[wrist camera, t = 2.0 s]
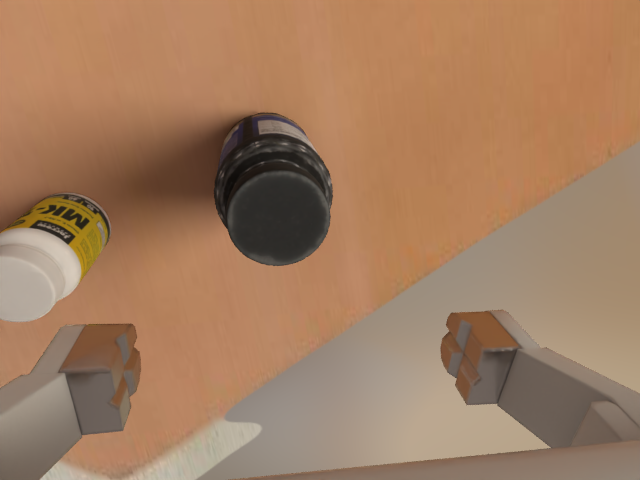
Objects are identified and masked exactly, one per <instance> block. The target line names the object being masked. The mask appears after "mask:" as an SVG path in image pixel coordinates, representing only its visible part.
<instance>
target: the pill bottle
mask: <svg viewBox="0 0 640 480" xmlns="http://www.w3.org/2000/svg"><path fill="white" fill-rule="evenodd" d="M332 192H333V191H332V183H331V178H330V174H329V171H328V169H327V168H326V166H325V164H324V162H323V161H322V159H321V158H320V156H319V155H318V153H317V152H316V150H315V148H314V147H313V145H312V144H311V142H310V141H309V139H308V138H307V136H306V134H305V133H304V131H303V130H302V129H301V128H300V127H299V126H298V125H297V124H296V123H295V122H294V121H292V120H290V119H288V118H286V117H284V116H282V115H279V114H276V113H259V114H256V115H252V116H249V117H247V118H244V119H243V120H241V121H239V122H238V123H237V124H236V125H235V126H234V127H233V128H232V129H231V131H230V132H229V133H228V134H227V137H226V139H225V141H224V144H223V148H222V152H221V156H220V161H219V166H218V171H217V175H216V179H215V188H214V198H215V205H216V209H217V211H218V215H219V216H220V218H221V220H222V222H223V224H224V225H225V227H226V228H227V229H228V232H229V235H230V238H231V240H232V242H233V243H234V245H235V246H236V247H237V248H238V250H239V251H240V252H242V253H243V254H244V255H245V256H246V257H248V258H250V259H252V260H254V261H256V262H259V263H261V264H266V265H273V266H284V265H288V264H293V263H296V262H299V261H301V260H303V259H305V258H306V257H308V256H309V255H311V254H312V253H313V252H314V251H315V250H316V249H317V248H318V247H319V246H320V245H321V243H322V242H323V240H324V238H325V237H326V235H327V232H328V228H329V226H330V217H331V216H330V208H331V204H332V197H333V195H332Z"/></svg>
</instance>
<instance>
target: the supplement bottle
mask: <svg viewBox="0 0 640 480" xmlns="http://www.w3.org/2000/svg"><path fill="white" fill-rule="evenodd" d="M110 235H111V224H110V220H109V218H108V216H107V214H106V212H105V211H104V209H103V208H102V207H101V206H100V205H99V204H98V203H96V202H95V201H93V200H92V199H90V198H88V197H86V196H84V195H81V194H76V193H57V194H53V195H51V196H48V197H46V198H45V199H43V200H42V201H41V202H39V203H38V204H37V205H35V206H34V207H33V208H31V209H30V210H29V211H28V212H26V213H25V214H24V215H22V216H21V217H20V218H19V219H17V220H16V221H15V222H13V223H12V224H11V225H10V226H8V227H7V228H6V229H4V230H3V231H2V232H0V319H1V320H5V321H10V322H28V321H32V320H36V319H38V318H40V317H42V316H44V315H45V314H47V313H48V312H49V311H50V310H51V309H52V307H53V306H54V305H55V303H56V302H57V301H58V300H60V299H62V298H64V297H66V296H67V295H69V294H70V293H71V292H72V291H74V290H75V288H76V287H77V286H78V284H79V283H80V281H81V280H82V279H83V277H84V276H85V274H86V273H87V272H88V270H89V269H90V267H91V266H92V264H93V263H94V262H95V260H96V259H97V257H98V256H99V254H100V253H101V252H102V250H103V249H104V247H105V246H106V244H107V243H108V241H109V238H110Z"/></svg>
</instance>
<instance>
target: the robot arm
mask: <svg viewBox="0 0 640 480" xmlns="http://www.w3.org/2000/svg"><path fill="white" fill-rule="evenodd" d="M446 326H447V328H448V329H449V332H448V333H447V334H446V335H445V336H444V337H443V339H442V344H441V359H442V362H443V365H444V367H445V369H446V370H447V372H448V373H449V374H451V375H452V376H454V377H455V378H457V380H456V384H455V386H456V388H457V389H458V391H459V393H460V394H461V396H462V397H463V399H464V401H465V403H466V404H467V405H479V404H498V406H499V407H500V408H501V409H503V410H504V411H505V412H506V413H508V414H509V415H510V416H512V417H513V418H514V419H515V420H517V421H518V422H519V423H520V424H522V425H523V426H524V427H526V428H527V429H528V430H529V431H531V432H532V433H533V434H534V435H536V436H537V437H538V438H539V439H541V440H542V441H543V442H545V443H546V444H547V445H548V446H550V447H551V448H549V449H538V450H529V451H518V452H507V453H497V454H487V455H476V456H466V457H456V458H445V459H435V460H425V461H414V462H404V463H393V464H383V465H373V466H364V467H353V468H343V469H333V470H322V471H312V472H301V473H291V474H281V475H271V476H261V477H251V478H240V479H230V480H640V393H638V392H636V391H633V390H631V389H629V388H627V387H625V386H623V385H621V384H619V383H617V382H615V381H613V380H611V379H609V378H607V377H605V376H603V375H601V374H599V373H597V372H595V371H593V370H591V369H589V368H587V367H585V366H583V365H581V364H579V363H577V362H575V361H573V360H571V359H569V358H566V357H564V356H562V355H560V354H558V353H556V352H554V351H552V350H550V349H548V348H541V347H540V346H539V345H538V344H537V343H536V342H535V341H534V340H533V339H532V338H531V337H530V335H529V334H528V333H527V332H526V331H525V330H524V329H523V328H522V327H521V326H520V325H519V324H518V323H517V322H516V320H514V318H513V317H512V316H511V315H510V314H509V313H508V312H506V311H504V310H492V311H485V312H460V313H451V314H450V315H449V317H448V319H447V323H446ZM136 339H137V334H136V329H135V326H134V325H133V324H88V325H86V324H82V325H65V326H63V327H61V328H60V329H59V331H58V332H57V334H56V335H55V337H54V338H53V340H52V341H51V343H50V344H49V346H48V347H47V349H46V350H45V352H44V353H43V355H42V356H41V358H40V359H39V360H38V362H37V363H36V365H35V366H34V368H33V369H32V371H31V372H30V374H29V375H21V376H19V377H17V378H16V379H14V380H12V381H11V382H9V383H8V384H6V385H4V386H3V387H1V388H0V480H39V479H40V478H41V477H42V476H43V475H44V474H46V473H47V472H48V471H49V470H50V469H51V468H52V467H53V466H54V465H55V464H56V463H57V462H58V461H59V460H60V459H61V458H62V457H63V456H64V455H65V454H66V453H67V452H68V451H69V450H70V449H71V448H72V447H73V446H74V445H75V444H76V443H77V442H78V441H79V440H80V439H81V438H82V435H87V434H97V433H107V432H117V431H123V430H124V427H125V424H126V421H127V418H128V415H129V412H130V409H131V403H130V396H131V395H133V394H134V393H135V392H136V390H137V387H138V384H139V379H140V372H141V359H140V352H139V351H138V350H137V349H136V348H134V344H135V342H136Z"/></svg>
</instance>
